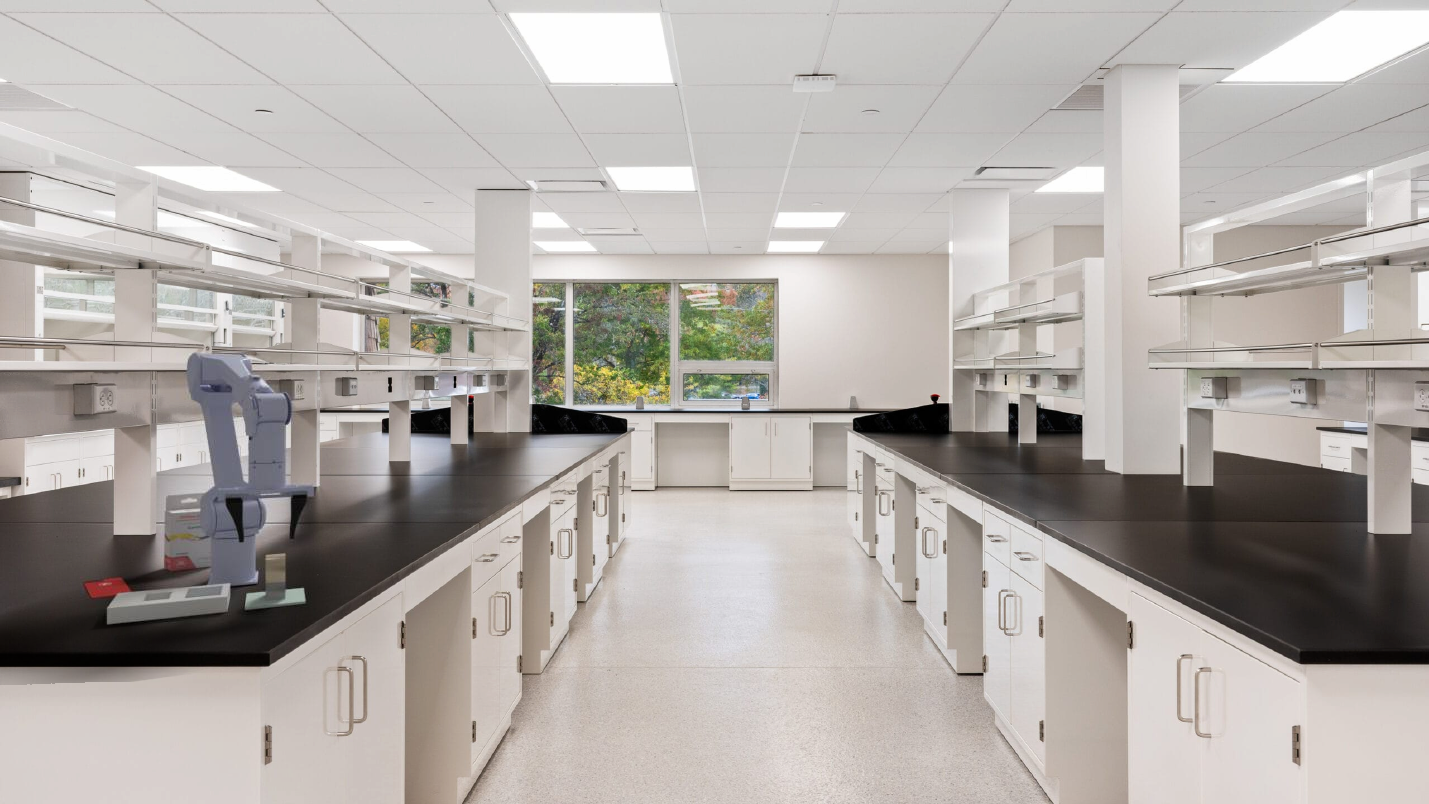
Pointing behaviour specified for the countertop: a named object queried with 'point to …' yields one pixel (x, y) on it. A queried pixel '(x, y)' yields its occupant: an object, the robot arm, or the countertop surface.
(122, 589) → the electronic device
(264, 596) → the mat
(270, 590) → the plug
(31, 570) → the countertop surface
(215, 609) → the white slotted tray
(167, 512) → the ink cartridge box
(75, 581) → the countertop surface
